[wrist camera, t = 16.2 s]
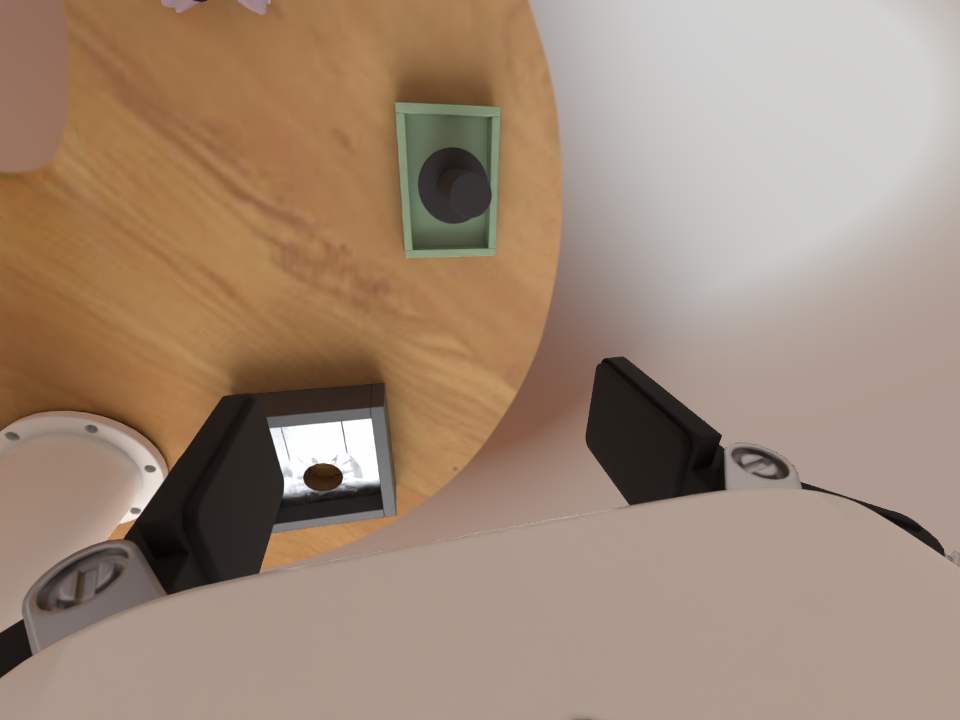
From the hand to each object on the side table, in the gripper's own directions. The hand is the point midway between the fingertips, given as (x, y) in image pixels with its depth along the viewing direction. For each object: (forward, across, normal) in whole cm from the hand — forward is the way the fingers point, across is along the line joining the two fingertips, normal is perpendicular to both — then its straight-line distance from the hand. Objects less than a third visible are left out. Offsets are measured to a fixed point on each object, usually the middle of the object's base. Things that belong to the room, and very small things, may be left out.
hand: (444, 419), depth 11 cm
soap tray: (+24, -4, -5) cm, 25 cm away
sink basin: (+25, +10, +19) cm, 32 cm away
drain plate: (+25, +10, +19) cm, 32 cm away
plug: (+23, -4, -5) cm, 24 cm away
